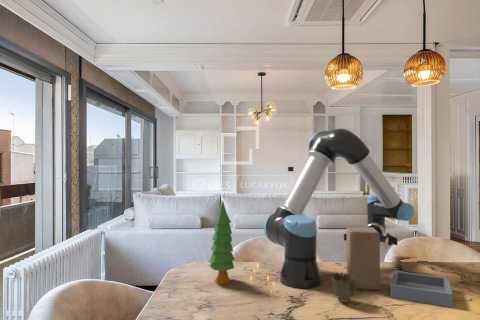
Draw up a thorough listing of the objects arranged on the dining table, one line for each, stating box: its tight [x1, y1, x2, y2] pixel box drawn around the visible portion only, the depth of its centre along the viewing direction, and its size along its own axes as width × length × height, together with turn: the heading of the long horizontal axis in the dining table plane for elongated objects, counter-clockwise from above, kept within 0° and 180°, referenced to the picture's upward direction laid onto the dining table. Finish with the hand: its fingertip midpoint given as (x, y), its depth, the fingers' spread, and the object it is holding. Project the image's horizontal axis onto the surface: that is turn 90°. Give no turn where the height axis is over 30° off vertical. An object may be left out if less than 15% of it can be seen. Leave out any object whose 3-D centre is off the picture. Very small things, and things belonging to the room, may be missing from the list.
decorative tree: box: [208, 201, 235, 285], centre depth 125 cm, size 10×9×30 cm
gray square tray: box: [389, 270, 454, 309], centre depth 112 cm, size 17×17×4 cm
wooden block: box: [345, 226, 381, 291], centre depth 119 cm, size 10×10×20 cm
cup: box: [331, 272, 356, 305], centre depth 105 cm, size 8×7×8 cm
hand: (366, 243), depth 128 cm, fingers open, 13 cm apart
